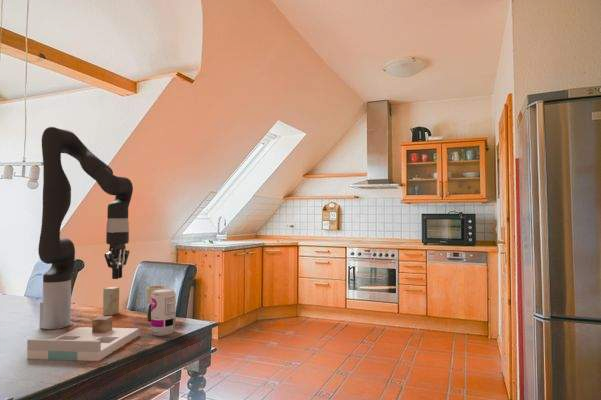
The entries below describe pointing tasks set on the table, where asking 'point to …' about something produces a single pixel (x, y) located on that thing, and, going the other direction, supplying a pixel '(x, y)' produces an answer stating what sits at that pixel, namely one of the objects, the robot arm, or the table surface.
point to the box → (111, 301)
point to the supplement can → (163, 312)
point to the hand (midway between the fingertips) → (117, 278)
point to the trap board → (80, 344)
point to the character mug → (148, 296)
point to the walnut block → (102, 324)
